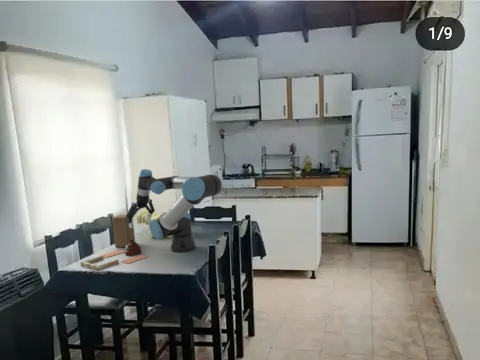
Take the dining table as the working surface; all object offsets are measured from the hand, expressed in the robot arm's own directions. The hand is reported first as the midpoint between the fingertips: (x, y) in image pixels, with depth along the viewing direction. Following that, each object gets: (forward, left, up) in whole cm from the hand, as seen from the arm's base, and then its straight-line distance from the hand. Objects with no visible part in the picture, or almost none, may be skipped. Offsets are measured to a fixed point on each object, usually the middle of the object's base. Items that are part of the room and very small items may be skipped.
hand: (139, 224), depth 261 cm
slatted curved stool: (+13, -28, -16) cm, 35 cm away
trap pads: (-4, +17, -15) cm, 23 cm away
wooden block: (+17, +1, -16) cm, 23 cm away
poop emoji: (-5, +10, -16) cm, 19 cm away
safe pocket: (-4, +32, -15) cm, 35 cm away
